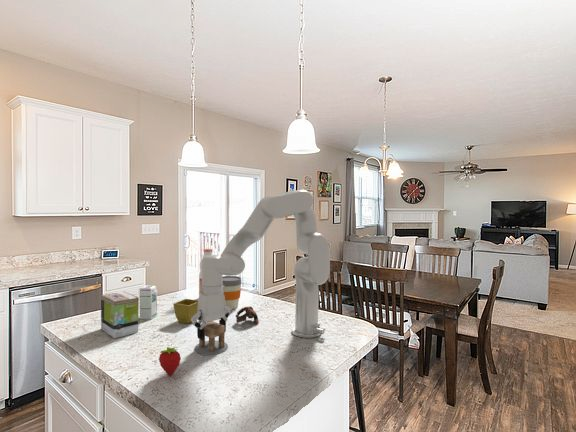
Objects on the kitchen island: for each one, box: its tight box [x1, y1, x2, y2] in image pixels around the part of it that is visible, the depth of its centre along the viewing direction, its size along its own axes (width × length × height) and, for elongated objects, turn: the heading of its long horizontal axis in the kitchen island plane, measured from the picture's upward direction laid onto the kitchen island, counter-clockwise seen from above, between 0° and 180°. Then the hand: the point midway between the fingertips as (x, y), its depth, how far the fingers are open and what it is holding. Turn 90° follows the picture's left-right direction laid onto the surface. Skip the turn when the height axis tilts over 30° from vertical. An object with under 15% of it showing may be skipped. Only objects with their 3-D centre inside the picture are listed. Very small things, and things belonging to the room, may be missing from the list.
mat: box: [194, 339, 229, 356], centre depth 124 cm, size 12×12×1 cm
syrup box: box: [138, 284, 158, 320], centre depth 156 cm, size 6×6×14 cm
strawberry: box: [158, 344, 182, 377], centre depth 103 cm, size 6×8×10 cm
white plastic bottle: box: [198, 248, 214, 296], centre depth 189 cm, size 9×9×28 cm
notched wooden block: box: [198, 320, 226, 352], centre depth 124 cm, size 6×8×8 cm
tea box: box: [100, 291, 140, 339], centre depth 139 cm, size 15×10×15 cm
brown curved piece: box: [235, 306, 260, 326], centre depth 152 cm, size 12×10×8 cm
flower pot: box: [173, 298, 198, 324], centre depth 151 cm, size 9×9×9 cm
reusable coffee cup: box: [223, 275, 242, 310], centre depth 174 cm, size 13×13×15 cm
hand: (212, 334), depth 124 cm, fingers open, 9 cm apart
